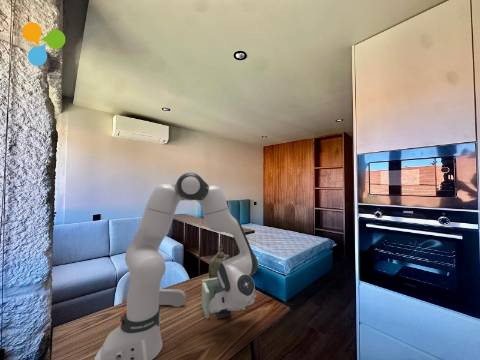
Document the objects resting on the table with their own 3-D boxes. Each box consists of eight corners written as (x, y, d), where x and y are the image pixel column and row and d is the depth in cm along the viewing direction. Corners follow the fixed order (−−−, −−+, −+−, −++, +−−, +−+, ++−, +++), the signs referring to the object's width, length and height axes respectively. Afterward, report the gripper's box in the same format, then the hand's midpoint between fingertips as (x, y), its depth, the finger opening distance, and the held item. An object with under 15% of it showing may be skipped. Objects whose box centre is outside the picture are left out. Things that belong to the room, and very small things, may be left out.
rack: (205, 318, 95) (206, 291, 95) (201, 304, 105) (201, 279, 106) (245, 309, 102) (245, 283, 102) (237, 297, 113) (237, 274, 113)
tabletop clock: (222, 292, 117) (222, 249, 118) (207, 289, 120) (208, 247, 120) (230, 280, 131) (230, 241, 132) (217, 278, 134) (217, 240, 134)
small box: (231, 316, 96) (232, 294, 96) (218, 319, 94) (218, 297, 94) (225, 304, 106) (225, 283, 106) (213, 306, 104) (213, 286, 104)
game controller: (185, 304, 105) (186, 288, 105) (184, 307, 103) (184, 291, 103) (148, 303, 106) (149, 287, 106) (146, 306, 103) (147, 290, 103)
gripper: (255, 286, 92) (247, 296, 101) (211, 294, 85) (206, 304, 94) (260, 301, 88) (250, 310, 97) (213, 311, 81) (208, 320, 90)
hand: (228, 307), depth 95 cm, fingers closed
